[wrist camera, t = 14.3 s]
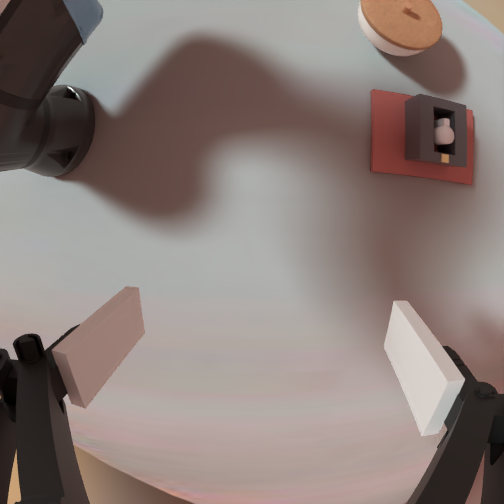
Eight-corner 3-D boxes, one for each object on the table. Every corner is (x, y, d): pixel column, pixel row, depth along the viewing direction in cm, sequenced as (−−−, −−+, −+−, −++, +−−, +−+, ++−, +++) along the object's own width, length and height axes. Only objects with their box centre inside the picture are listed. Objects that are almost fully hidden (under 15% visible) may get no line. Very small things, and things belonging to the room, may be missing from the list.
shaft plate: (370, 171, 37) (386, 172, 31) (370, 91, 34) (385, 78, 28) (467, 184, 36) (493, 188, 29) (468, 111, 33) (493, 106, 26)
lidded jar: (430, 64, 32) (460, 45, 23) (364, 68, 33) (383, 44, 24) (405, 4, 29) (427, -24, 20) (340, 5, 31) (351, -29, 22)
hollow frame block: (404, 101, 33) (419, 93, 28) (448, 110, 32) (466, 105, 27) (404, 159, 35) (420, 159, 30) (448, 166, 34) (467, 167, 29)
